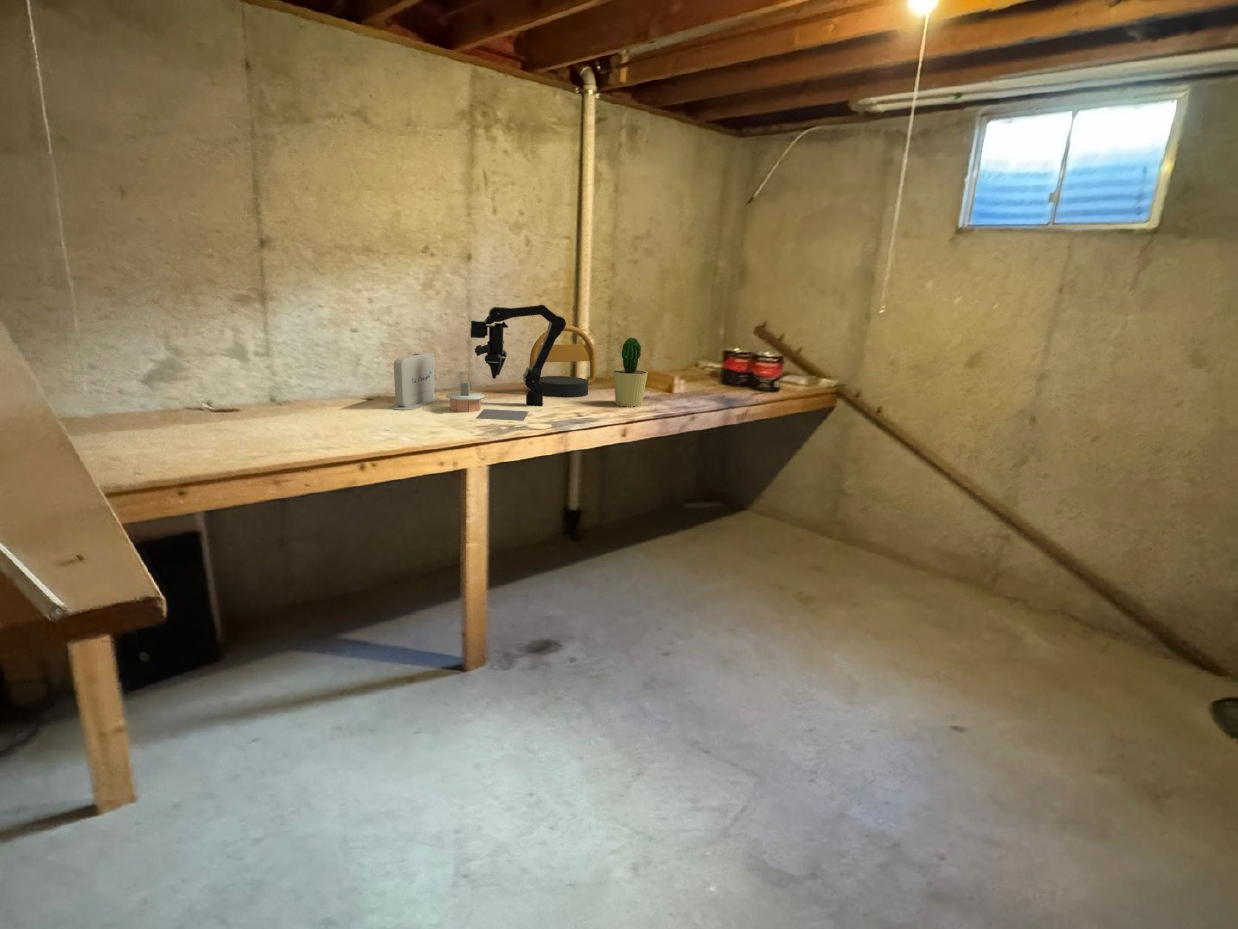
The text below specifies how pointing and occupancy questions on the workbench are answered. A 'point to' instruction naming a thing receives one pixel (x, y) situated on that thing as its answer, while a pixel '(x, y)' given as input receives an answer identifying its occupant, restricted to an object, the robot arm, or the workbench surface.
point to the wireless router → (414, 381)
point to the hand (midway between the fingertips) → (495, 376)
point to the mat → (502, 414)
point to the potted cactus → (629, 376)
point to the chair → (567, 353)
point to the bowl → (465, 405)
